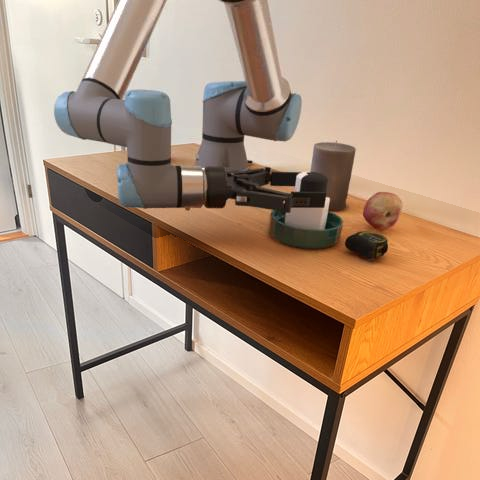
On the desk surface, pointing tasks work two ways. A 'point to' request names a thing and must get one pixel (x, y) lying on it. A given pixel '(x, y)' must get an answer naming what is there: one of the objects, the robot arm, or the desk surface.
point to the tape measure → (367, 244)
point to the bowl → (305, 232)
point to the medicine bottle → (309, 216)
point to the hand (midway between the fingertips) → (312, 189)
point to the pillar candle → (334, 170)
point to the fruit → (382, 210)
